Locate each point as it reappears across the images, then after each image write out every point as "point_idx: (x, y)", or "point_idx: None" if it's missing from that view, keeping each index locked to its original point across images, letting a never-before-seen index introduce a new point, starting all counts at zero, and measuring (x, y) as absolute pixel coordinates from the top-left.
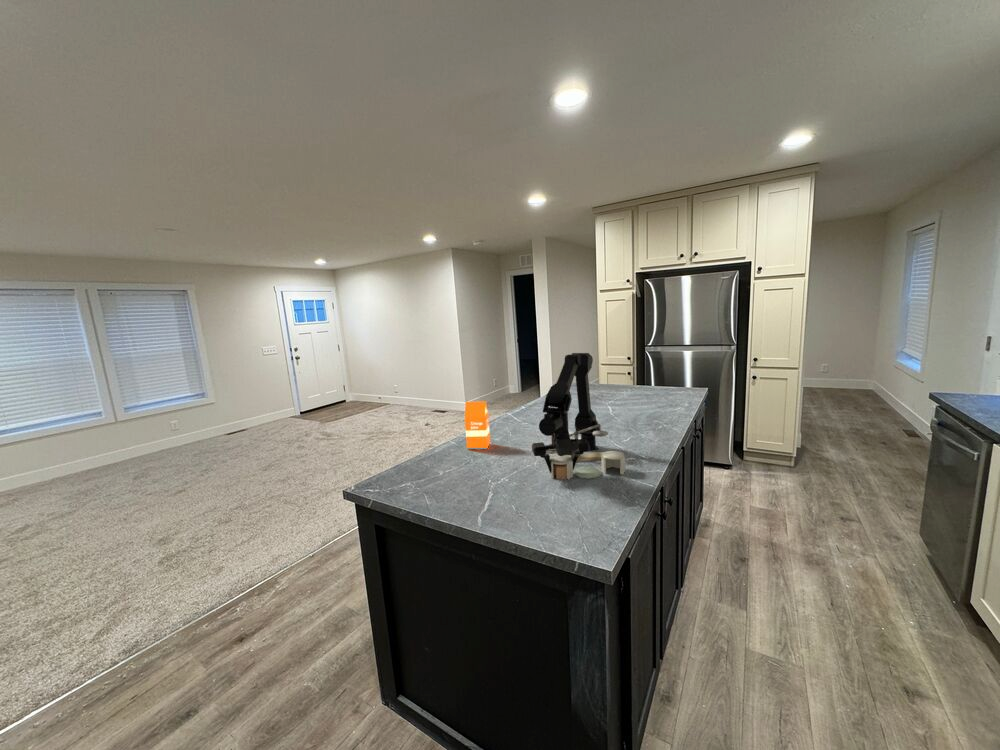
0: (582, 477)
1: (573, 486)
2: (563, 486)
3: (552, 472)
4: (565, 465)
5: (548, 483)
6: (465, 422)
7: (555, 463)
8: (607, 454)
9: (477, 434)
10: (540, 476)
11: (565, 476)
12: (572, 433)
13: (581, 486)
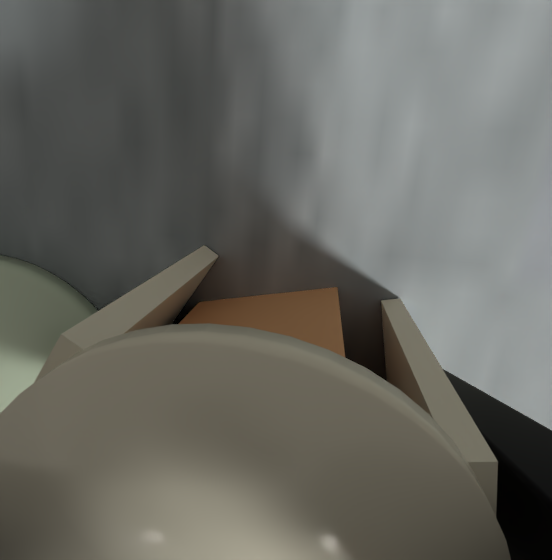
0: (48, 278)
1: (147, 37)
2: (278, 41)
3: (411, 336)
4: None
5: (476, 159)
6: None
7: (396, 395)
8: None
9: None
10: (535, 382)
11: (231, 306)
12: None
13: (49, 35)
